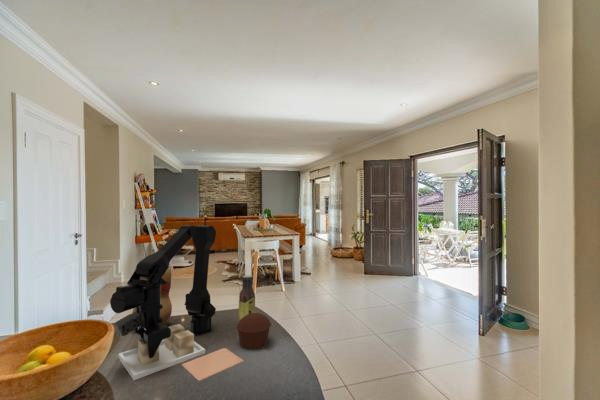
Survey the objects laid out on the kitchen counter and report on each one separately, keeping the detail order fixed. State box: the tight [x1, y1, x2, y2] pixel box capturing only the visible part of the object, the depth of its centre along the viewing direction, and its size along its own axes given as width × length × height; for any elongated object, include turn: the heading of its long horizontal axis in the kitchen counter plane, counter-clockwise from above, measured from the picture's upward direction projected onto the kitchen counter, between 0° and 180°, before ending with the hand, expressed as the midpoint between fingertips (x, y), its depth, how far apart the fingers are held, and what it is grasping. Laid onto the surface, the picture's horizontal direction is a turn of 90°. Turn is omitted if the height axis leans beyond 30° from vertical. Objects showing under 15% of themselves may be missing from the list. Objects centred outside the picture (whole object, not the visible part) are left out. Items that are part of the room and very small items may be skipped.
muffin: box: [236, 312, 272, 350], centre depth 96 cm, size 12×11×10 cm
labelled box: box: [137, 339, 159, 366], centre depth 84 cm, size 4×4×6 cm
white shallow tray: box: [117, 339, 206, 381], centre depth 87 cm, size 20×16×2 cm
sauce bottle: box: [237, 274, 256, 323], centre depth 109 cm, size 6×6×20 cm
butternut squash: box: [131, 265, 173, 325], centre depth 109 cm, size 14×13×25 cm
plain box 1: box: [164, 323, 186, 351], centre depth 93 cm, size 4×4×6 cm
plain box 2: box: [173, 329, 195, 358], centre depth 88 cm, size 4×4×6 cm
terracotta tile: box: [181, 347, 245, 382], centre depth 83 cm, size 14×11×1 cm
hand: (148, 354), depth 84 cm, fingers closed on labelled box, 4 cm apart
